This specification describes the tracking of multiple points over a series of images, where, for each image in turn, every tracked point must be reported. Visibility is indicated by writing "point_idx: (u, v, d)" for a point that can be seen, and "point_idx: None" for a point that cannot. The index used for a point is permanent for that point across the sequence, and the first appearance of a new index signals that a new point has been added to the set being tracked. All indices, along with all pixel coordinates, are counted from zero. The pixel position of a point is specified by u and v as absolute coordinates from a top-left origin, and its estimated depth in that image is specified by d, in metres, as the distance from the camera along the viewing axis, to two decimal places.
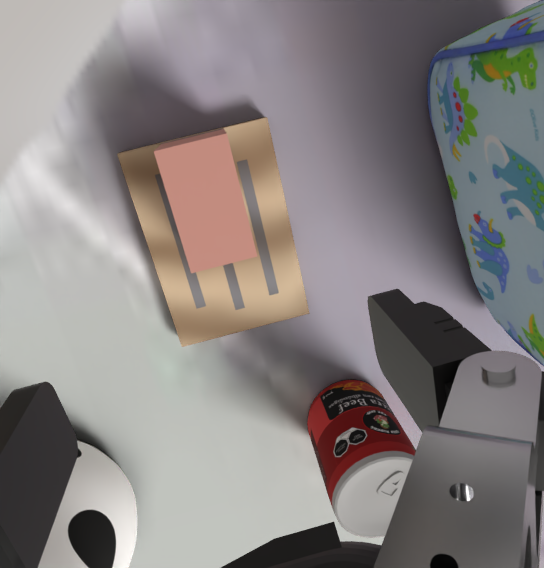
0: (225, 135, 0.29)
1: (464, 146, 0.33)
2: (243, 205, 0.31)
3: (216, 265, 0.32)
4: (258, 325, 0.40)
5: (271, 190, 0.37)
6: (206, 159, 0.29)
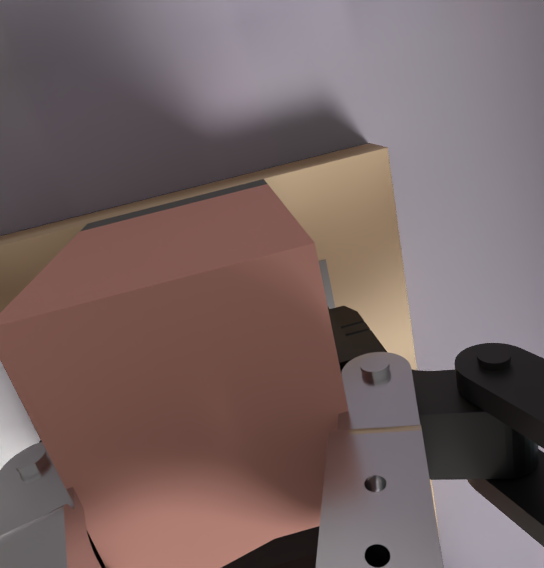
0: (308, 251, 0.07)
1: None
2: None
3: None
4: None
5: (383, 332, 0.14)
6: (225, 348, 0.07)
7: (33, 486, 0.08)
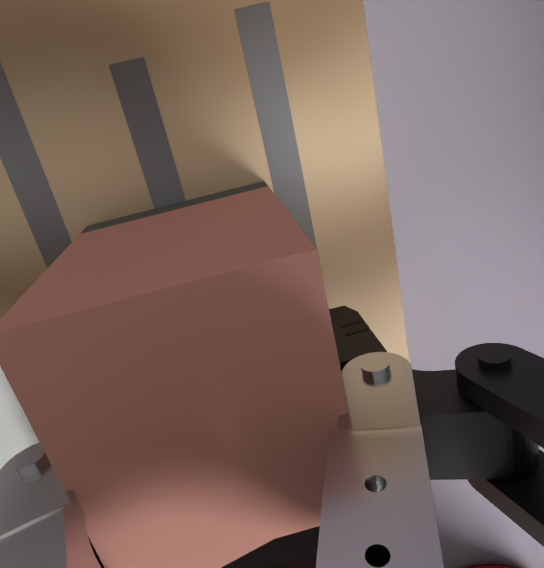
0: (310, 257, 0.07)
1: None
2: None
3: None
4: None
5: (342, 112, 0.12)
6: (227, 354, 0.07)
7: (33, 486, 0.08)
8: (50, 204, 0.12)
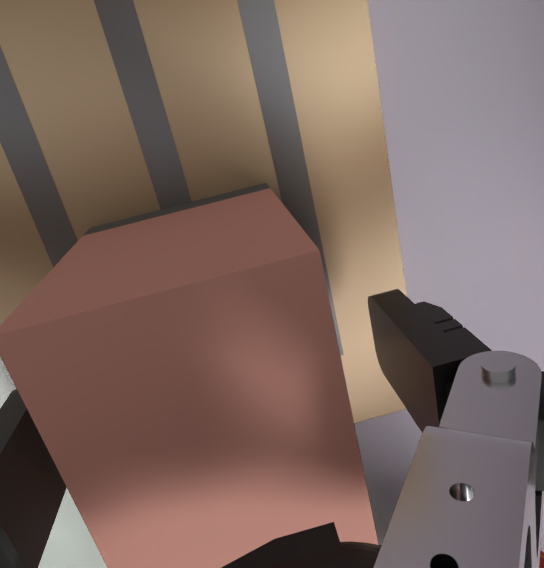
0: (312, 258, 0.07)
1: None
2: (364, 496, 0.08)
3: None
4: None
5: (335, 34, 0.11)
6: (230, 355, 0.07)
7: None
8: (27, 132, 0.11)
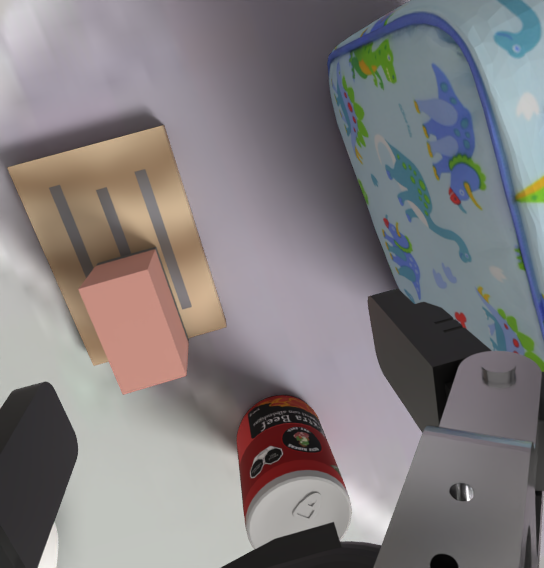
0: (146, 271, 0.31)
1: (362, 147, 0.32)
2: (169, 331, 0.32)
3: (147, 385, 0.33)
4: None
5: (173, 200, 0.35)
6: (130, 293, 0.31)
7: None
8: (77, 234, 0.35)
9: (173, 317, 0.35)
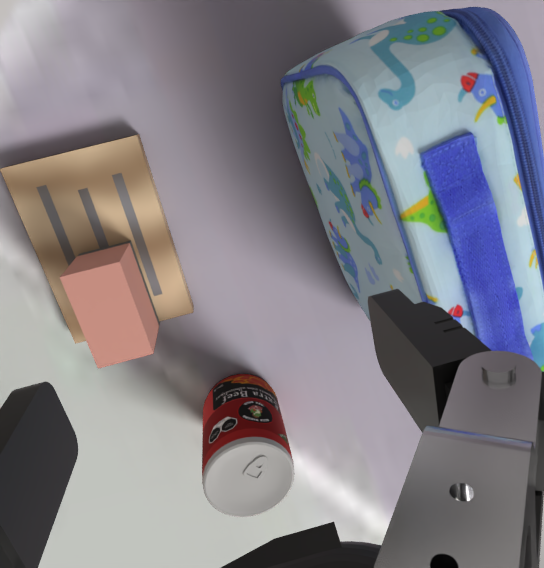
0: (118, 263, 0.36)
1: (308, 161, 0.37)
2: (138, 315, 0.37)
3: (119, 361, 0.38)
4: None
5: (146, 200, 0.40)
6: (104, 281, 0.36)
7: None
8: (61, 228, 0.40)
9: (144, 303, 0.40)
